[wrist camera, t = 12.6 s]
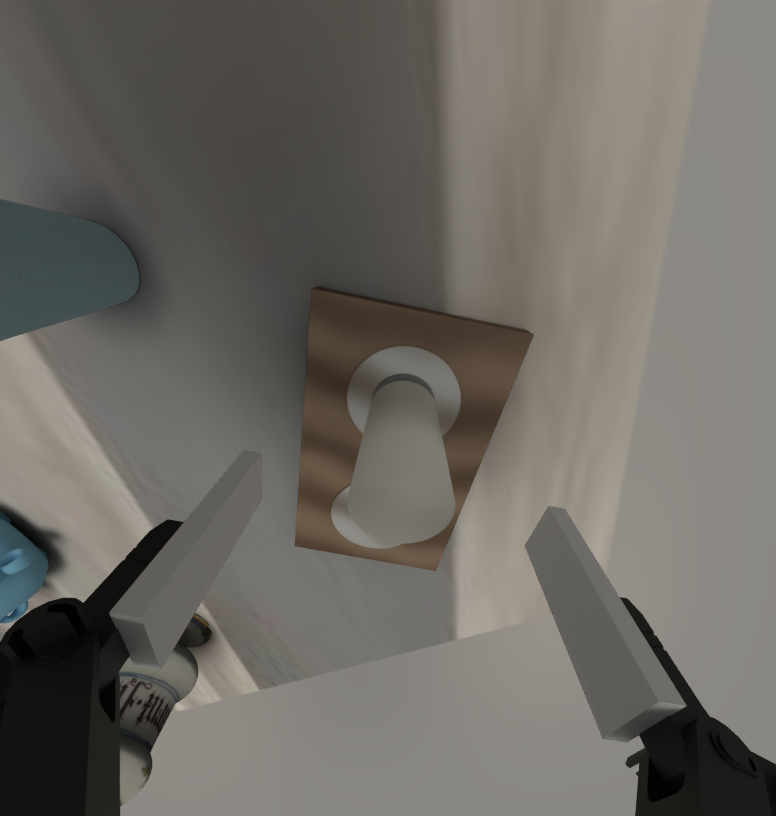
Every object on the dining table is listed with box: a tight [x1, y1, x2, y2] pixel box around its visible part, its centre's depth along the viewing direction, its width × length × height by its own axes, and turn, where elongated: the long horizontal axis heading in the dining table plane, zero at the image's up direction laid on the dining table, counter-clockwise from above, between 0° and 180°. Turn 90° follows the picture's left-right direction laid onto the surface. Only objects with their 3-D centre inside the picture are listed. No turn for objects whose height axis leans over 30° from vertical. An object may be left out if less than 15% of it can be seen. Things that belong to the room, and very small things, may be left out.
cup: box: [0, 199, 140, 341], centre depth 17 cm, size 8×8×10 cm
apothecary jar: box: [119, 614, 212, 806], centre depth 37 cm, size 12×12×18 cm
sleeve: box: [347, 374, 455, 544], centre depth 19 cm, size 5×5×11 cm
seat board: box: [295, 287, 534, 571], centre depth 27 cm, size 27×16×2 cm, turn 169°
